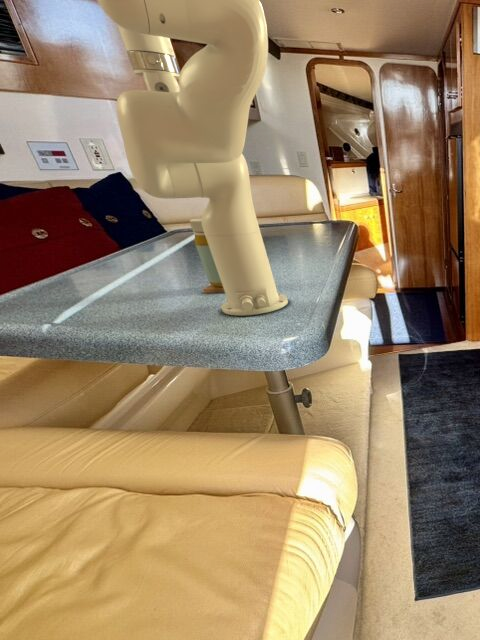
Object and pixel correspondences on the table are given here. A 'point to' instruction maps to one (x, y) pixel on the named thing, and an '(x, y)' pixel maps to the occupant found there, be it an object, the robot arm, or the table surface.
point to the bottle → (205, 253)
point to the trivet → (213, 289)
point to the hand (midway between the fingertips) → (189, 165)
